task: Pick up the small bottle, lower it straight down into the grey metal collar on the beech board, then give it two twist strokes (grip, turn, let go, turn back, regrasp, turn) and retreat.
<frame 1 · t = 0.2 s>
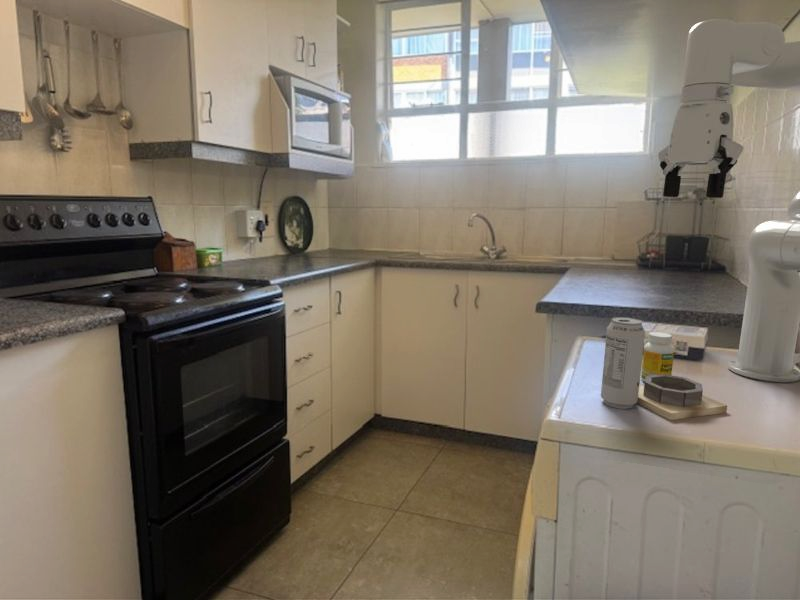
hand: (691, 197, 99), 36 cm above the table, tool pointing down, fingers open, 9 cm apart
energy drink can: (618, 404, 95), on the table
supplement bottle: (655, 382, 107), on the table
collar: (670, 403, 96), on the table
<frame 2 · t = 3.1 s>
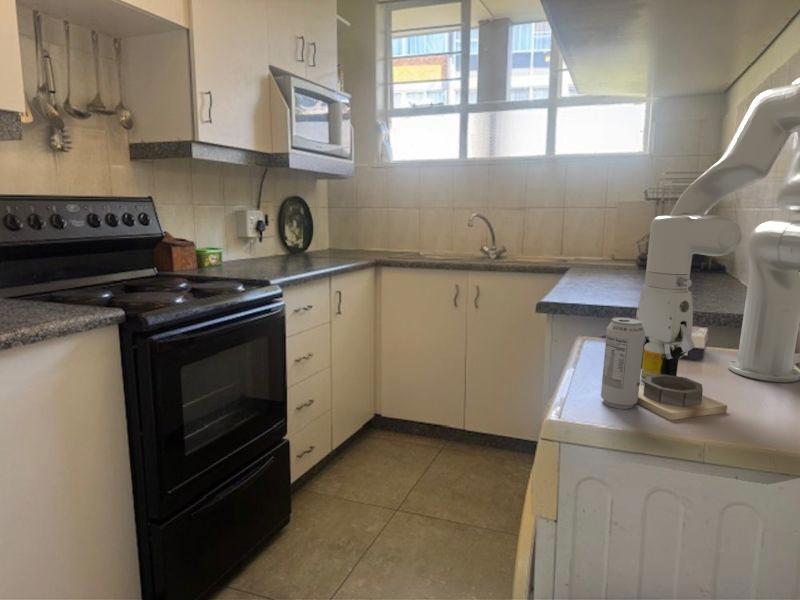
hand: (656, 371, 107), 2 cm above the table, tool pointing down, fingers closed on supplement bottle, 5 cm apart
supplement bottle: (655, 382, 107), on the table, touching gripper
everything else where it was.
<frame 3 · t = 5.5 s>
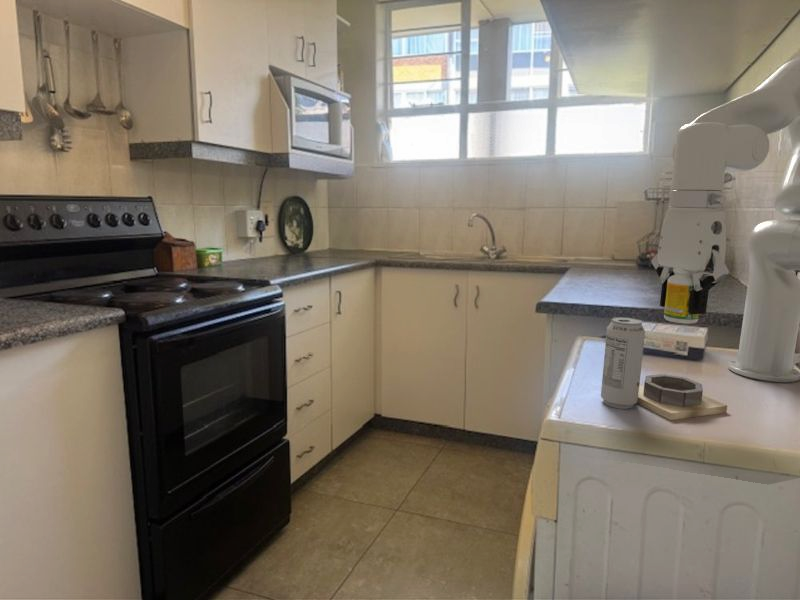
hand: (682, 308, 93), 17 cm above the table, tool pointing down, fingers closed on supplement bottle, 5 cm apart
supplement bottle: (680, 321, 93), point 15 cm above the table, touching gripper
everything else where it was.
when the fingers open (5 cm above the table, at t = 8.1 s): supplement bottle drops 1 cm, resting on collar.
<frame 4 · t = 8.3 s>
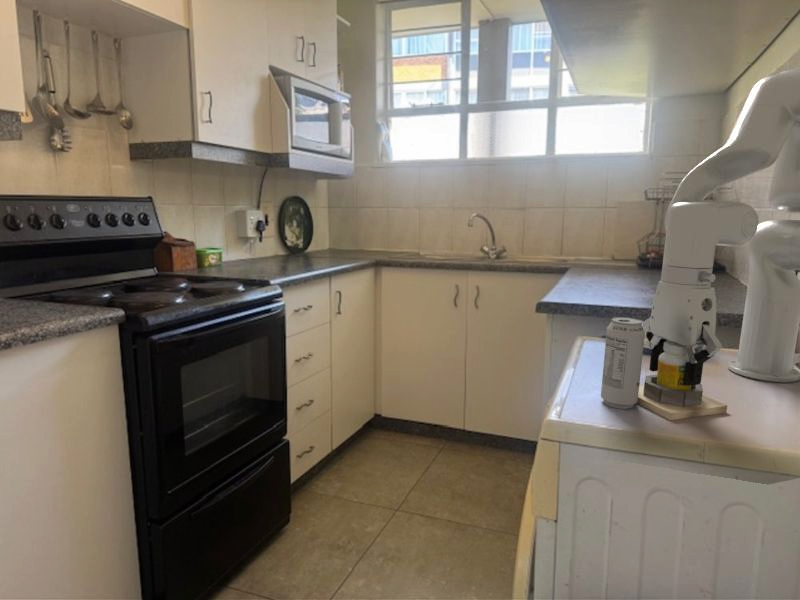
hand: (674, 376, 95), 5 cm above the table, tool pointing down, fingers open, 7 cm apart
supplement bottle: (672, 397, 96), point 1 cm above the table, touching collar
everything else where it was.
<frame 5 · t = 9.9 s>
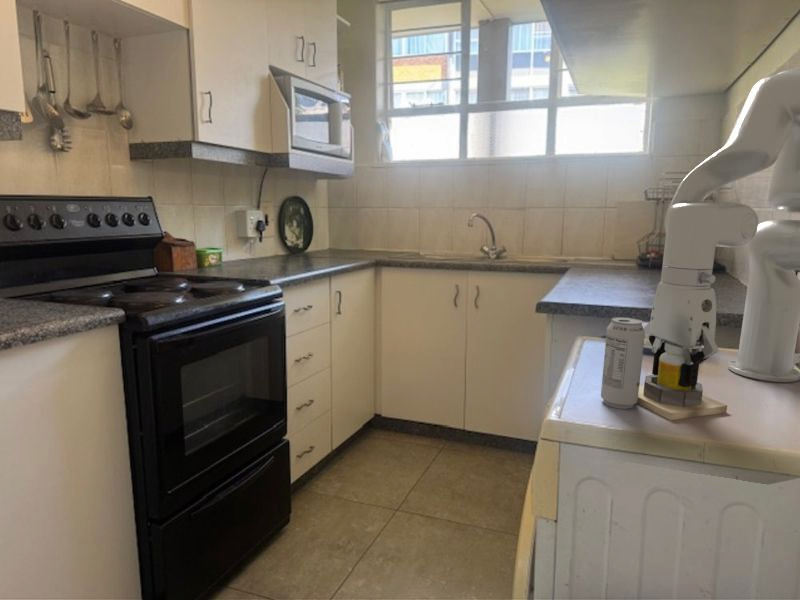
hand: (673, 378, 95), 4 cm above the table, tool pointing down, fingers closed on supplement bottle, 5 cm apart
supplement bottle: (672, 397, 96), point 1 cm above the table, touching collar, gripper
everything else where it was.
when the fingers open (5 cm above the table, at t = 11.1 s): supplement bottle stays where it is, resting on collar.
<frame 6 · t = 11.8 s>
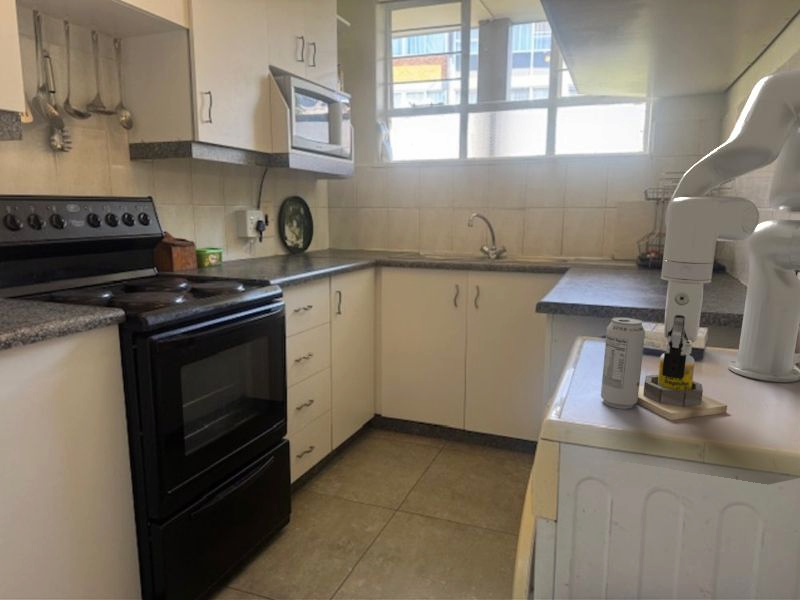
hand: (674, 368, 95), 6 cm above the table, tool pointing down, fingers open, 9 cm apart
supplement bottle: (673, 397, 96), point 1 cm above the table, touching collar
everything else where it was.
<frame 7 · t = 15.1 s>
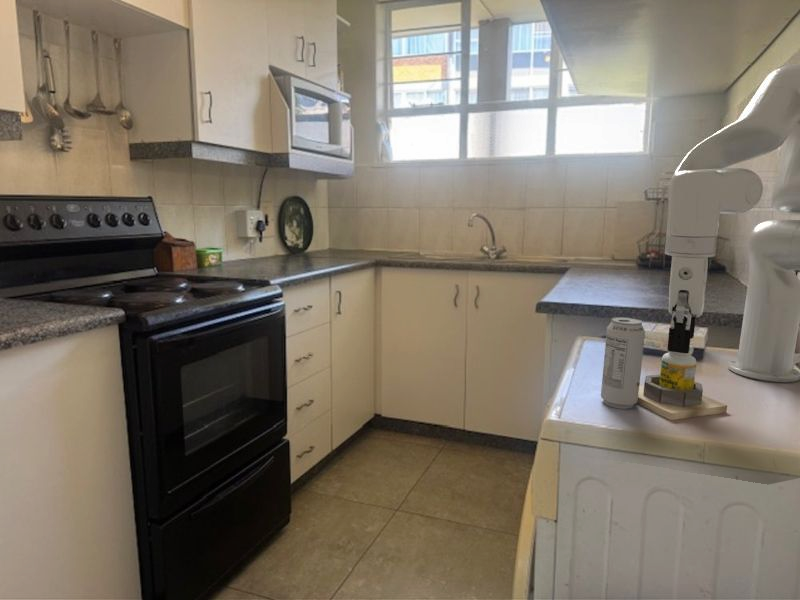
hand: (680, 344, 94), 11 cm above the table, tool pointing down, fingers open, 9 cm apart
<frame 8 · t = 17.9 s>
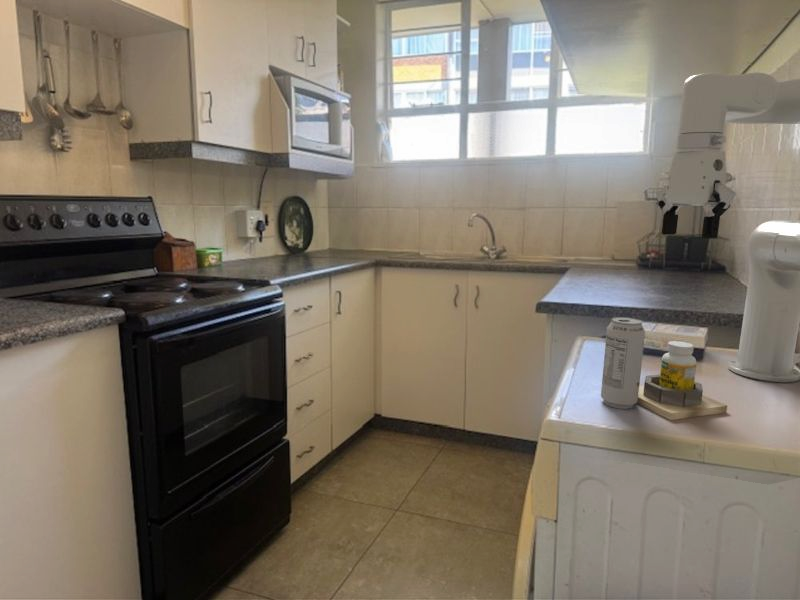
hand: (688, 236, 105), 28 cm above the table, tool pointing down, fingers open, 9 cm apart
at the end: supplement bottle 0.6 cm from the collar (horizontally); supplement bottle tilted 0°; the gripper is holding nothing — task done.
